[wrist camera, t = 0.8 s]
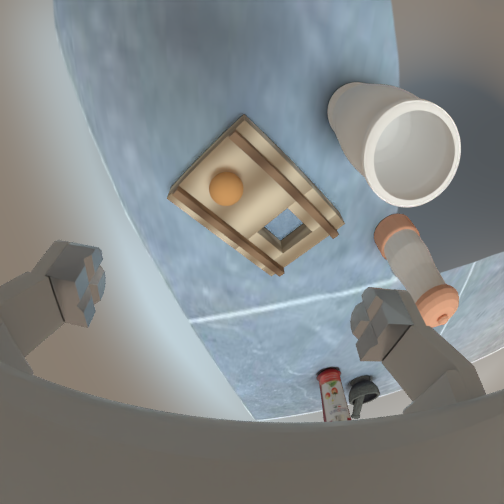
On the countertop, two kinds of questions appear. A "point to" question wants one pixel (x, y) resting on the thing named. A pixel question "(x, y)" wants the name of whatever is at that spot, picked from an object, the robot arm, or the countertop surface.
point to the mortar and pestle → (362, 394)
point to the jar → (396, 141)
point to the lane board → (256, 198)
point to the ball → (226, 188)
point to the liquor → (333, 396)
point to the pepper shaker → (416, 269)
